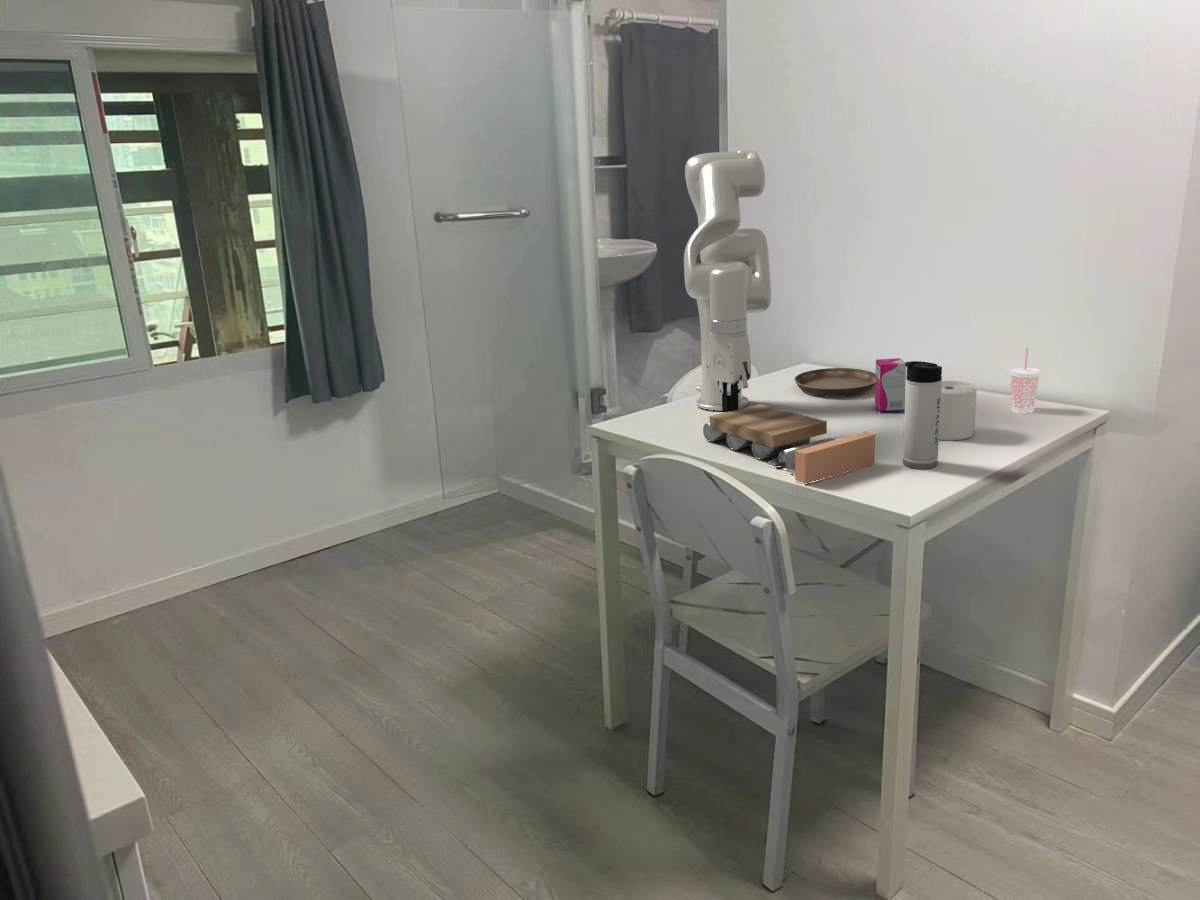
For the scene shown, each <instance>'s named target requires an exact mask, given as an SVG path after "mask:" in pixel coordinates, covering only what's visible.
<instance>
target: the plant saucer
mask: <svg viewBox="0 0 1200 900" xmlns="http://www.w3.org/2000/svg"><path fill="white" fill-rule="evenodd" d="M793 381H794V382H795V384H796V385H797V386H798V387H799V389H800V390H802V392H804V393H806V394H808V395H810V394H811V396H814V397H815V396H816V397H821V398H850V396H851V397H856V395H857V396H861V395H864V394H867V393H868V392H869V391H870V390H872V389H873V388H874V387H875V385H876V372H872V371H869V370H866V369H860V368H851V367H848V368H847V367H834V368H833V367H832V368H831V367H830V368H817V369H813V370H807V371H804V372H801V373H799V374H797V375H796V376H794V379H793Z"/></svg>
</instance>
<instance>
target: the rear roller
mask: <svg viewBox="0 0 1200 900" xmlns="http://www.w3.org/2000/svg"><path fill="white" fill-rule="evenodd" d="M702 432H703V436H704V438H705V439H707V440H706V441H708V440H710V441H711V442H714V441H718V440H722V438H723V439H727V438H726V437H727V434H728V433H725V432H722V431H719V430H716V429H713V428H710V422H706V423H704V425H703V428H702ZM710 441H709V442H710Z"/></svg>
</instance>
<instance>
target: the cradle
mask: <svg viewBox="0 0 1200 900" xmlns="http://www.w3.org/2000/svg"><path fill="white" fill-rule="evenodd" d="M767 463H768V464H769V465H772V466H774V467H777V466H781V465H780V463H779V457H778V458H775V459H772V460H771V459H770V460H768V462H767ZM788 472H790V473H792V474H795V466H794V467H790V468H788V471H787V473H788Z"/></svg>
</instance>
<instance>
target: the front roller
mask: <svg viewBox="0 0 1200 900" xmlns="http://www.w3.org/2000/svg"><path fill="white" fill-rule="evenodd" d="M808 443H811V438H808V439H804V440H800V441H797V442H793V443H789V444H785V445H782V446H778V447H774V448H772V447H769V446H766V445H763V444H760V443H757V442H753V443H752V446H751V452H752V454H753V456H754V457H755V458H756V457H757V458H760V459H759V460H763V459H766V458H767V457H768V458H771V457H774V456H779V453H780V452H781V451H783V450H786V449H790V448H793V447H797V446H801V445H804V444H808ZM757 458H756V459H757Z"/></svg>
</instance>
